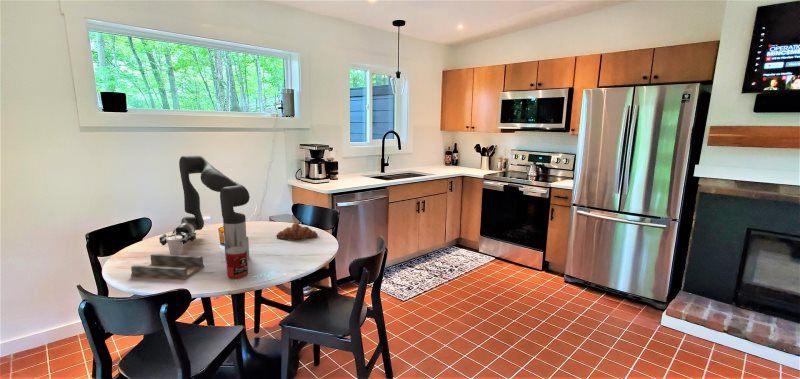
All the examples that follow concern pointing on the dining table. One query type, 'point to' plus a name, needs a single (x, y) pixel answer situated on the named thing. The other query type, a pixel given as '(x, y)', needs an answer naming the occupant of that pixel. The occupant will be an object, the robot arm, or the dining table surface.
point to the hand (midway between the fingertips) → (173, 242)
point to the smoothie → (175, 244)
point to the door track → (169, 267)
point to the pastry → (296, 233)
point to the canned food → (237, 262)
